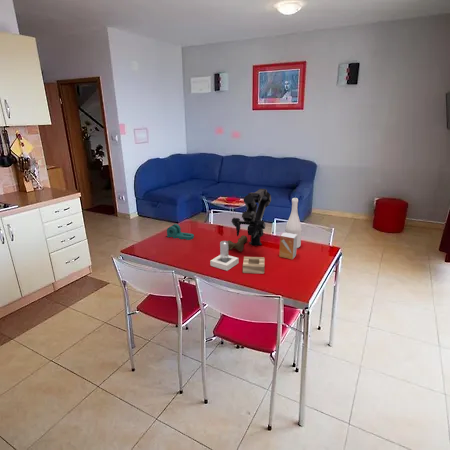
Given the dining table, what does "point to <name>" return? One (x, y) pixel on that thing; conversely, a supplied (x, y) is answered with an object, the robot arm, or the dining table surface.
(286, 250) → the small box
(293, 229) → the wine bottle
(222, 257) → the grey peg
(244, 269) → the socket block
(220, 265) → the white square frame
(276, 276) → the dining table surface
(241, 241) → the brown bone-shaped piece
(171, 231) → the bracket
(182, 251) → the dining table surface
